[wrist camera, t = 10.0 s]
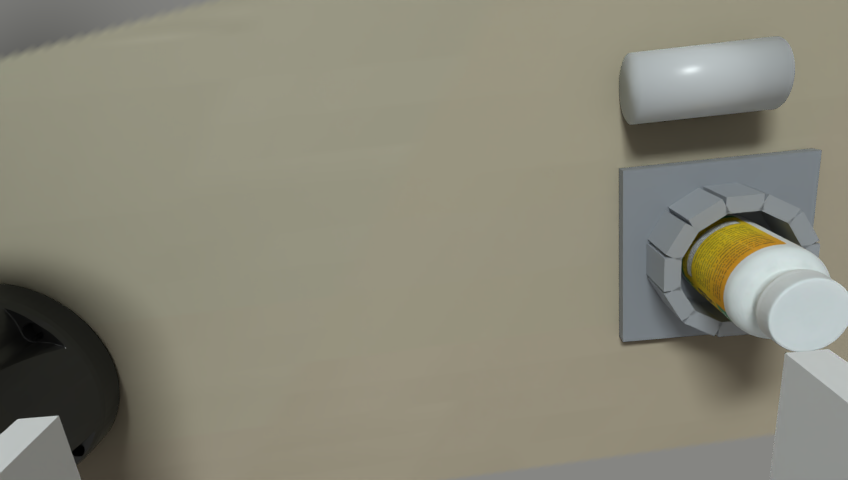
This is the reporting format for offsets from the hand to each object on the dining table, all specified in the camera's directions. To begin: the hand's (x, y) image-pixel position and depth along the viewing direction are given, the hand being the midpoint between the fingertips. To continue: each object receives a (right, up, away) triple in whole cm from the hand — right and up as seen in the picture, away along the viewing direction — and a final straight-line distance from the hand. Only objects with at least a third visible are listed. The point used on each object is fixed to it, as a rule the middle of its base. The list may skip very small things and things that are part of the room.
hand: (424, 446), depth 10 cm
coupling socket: (+19, +3, +26) cm, 33 cm away
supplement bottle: (+19, +3, +26) cm, 32 cm away
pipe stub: (+16, +13, +23) cm, 31 cm away
